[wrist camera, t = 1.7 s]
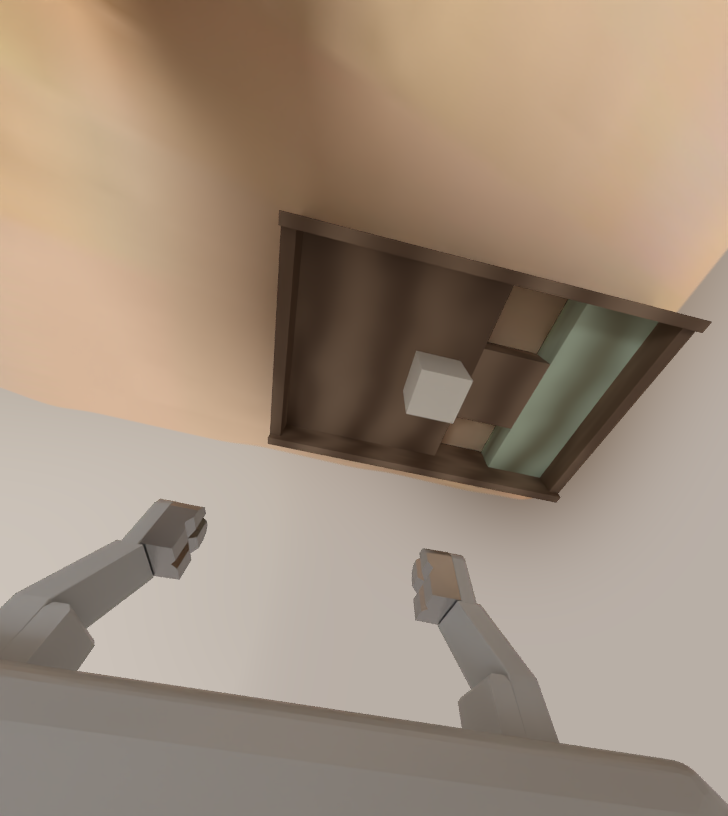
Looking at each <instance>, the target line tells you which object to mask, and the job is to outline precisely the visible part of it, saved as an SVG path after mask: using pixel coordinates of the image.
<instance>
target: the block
mask: <svg viewBox="0 0 728 816" xmlns="http://www.w3.org/2000/svg"><path fill="white" fill-rule="evenodd" d="M472 382H473V380H472V378H471V377H470V375H469V374H468V372H467V370H466V369H465V367H464V366H463V364H462V363H461V361H458V360H454V359H450V358H446V357H441V356H437V355H433V354H428V353H424V352H420V351H416V353H415V356H414V359H413V362H412V365H411V368H410V371H409V374H408V377H407V380H406V383H405V386H404V389H403V395H404V402H405V410H406V414H410V415H415V416H420V417H424V418H429V419H433V420H438V421H442V422H447V423H452V424H453V423H454V421H455V419H456V416H457V414H458V412H459V410H460V408H461V406H462V404H463V402H464V399H465V397H466V395H467V393H468V391H469V389H470V387H471V385H472Z"/></svg>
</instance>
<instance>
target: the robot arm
mask: <svg viewBox="0 0 728 816" xmlns="http://www.w3.org/2000/svg"><path fill="white" fill-rule="evenodd" d="M205 514H206V512H205V507H200V506H194V505H189V504H184V503H179V502H175V501H170V500H164V499H159V500H158V501H156V502H155V503H154V504H153V505H152V506H151V507H150V508H149V510H148V511H147V512H146V513H145V514H144V515H143V516H142V518H141V519H140V520H139V521H138V522H137V523H136V524H135V525H134V527H133V528H132V529H131V530H130V531H129V532H128V533H127V535H126V536H125V537H124V538H123V539H122V540H115V541H114V542H112V543H110V544H108V545H106V546H104V547H102V548H100V549H99V550H97V551H95V552H93V553H91V554H89V555H87V556H85V557H83V558H81V559H80V560H78V561H76V562H74V563H72V564H70V565H68V566H66V567H64V568H63V569H61V570H59V571H57V572H55V573H53V574H51V575H49V576H47V577H46V578H44V579H42V580H40V581H38V582H36V583H34V584H32V585H30V586H29V587H27V588H25V589H23V590H21V591H19V592H18V593H15V595H13V596H12V597H11V598H10V599H9V600H8V601H7V602H6V603H5V604H4V605H3V606H2V607H1V608H0V816H728V804H727V803H726V802H725V801H724V800H723V799H722V798H721V797H720V796H719V795H718V794H717V793H716V792H715V791H714V790H713V789H712V788H711V787H710V786H709V785H708V784H707V783H706V782H705V781H704V780H703V779H702V778H701V777H700V776H699V775H698V774H697V773H696V772H695V771H694V770H692V769H691V768H690V767H688V766H686V765H684V764H683V763H680V762H677V761H674V760H668V759H663V758H656V757H650V756H643V755H636V754H629V753H623V752H616V751H609V750H602V749H596V748H589V747H582V746H576V745H569V744H563V743H559V741H558V738H557V735H556V732H555V730H554V727H553V724H552V721H551V718H550V715H549V713H548V710H547V707H546V704H545V701H544V698H543V695H542V693H541V690H540V687H539V684H538V681H537V679H536V677H535V676H534V675H533V674H532V672H531V671H530V670H529V668H528V667H527V666H526V664H525V663H524V662H523V660H522V659H521V658H520V656H519V655H518V654H517V652H516V651H515V650H514V648H513V647H512V646H511V645H510V643H509V642H508V640H507V639H506V638H505V636H504V635H503V634H502V632H501V631H500V630H499V628H498V627H497V626H496V625H495V623H494V622H493V621H492V619H491V618H490V617H489V615H488V614H487V613H486V611H485V610H484V609H483V607H482V606H481V605H480V604H477V603H476V600H475V596H474V592H473V588H472V584H471V581H470V577H469V573H468V569H467V566H466V562H465V559H464V557H463V556H461V555H457V554H451V553H448V552H442V551H436V550H430V549H422V550H421V552H420V558H419V559H417V560H416V561H415V563H414V565H413V570H412V586H413V588H414V590H415V591H416V592H417V595H416V596H415V598H414V610H415V620H417V621H422V622H427V623H432V624H437V625H438V627H439V629H440V631H441V633H442V635H443V637H444V638H445V641H446V642H447V644H448V646H449V648H450V650H451V652H452V654H453V656H454V658H455V660H456V661H457V663H458V665H459V667H460V669H461V671H462V673H463V675H464V677H465V679H466V680H467V682H468V684H469V686H470V688H471V690H470V691H469V692H467V693H466V694H465V695H464V696H462V697H461V698H460V700H459V701H458V706H459V712H460V718H461V725H462V728H455V727H449V726H442V725H435V724H428V723H422V722H415V721H409V720H402V719H394V718H388V717H381V716H375V715H369V714H361V713H355V712H348V711H341V710H335V709H328V708H321V707H315V706H307V705H301V704H295V703H287V702H282V701H274V700H268V699H261V698H254V697H247V696H241V695H235V694H228V693H221V692H214V691H208V690H201V689H195V688H187V687H181V686H174V685H168V684H161V683H154V682H147V681H141V680H134V679H128V678H121V677H114V676H107V675H101V674H94V673H88V672H81V671H77V670H78V669H79V667H80V666H81V664H82V663H83V662H84V660H85V659H86V657H87V656H88V654H89V653H90V652H91V650H92V649H93V647H94V640H93V638H92V637H91V635H90V634H89V632H88V631H87V629H86V628H88V627H89V626H90V625H92V624H93V623H94V622H95V621H97V620H98V619H99V618H101V617H102V616H103V615H105V614H106V613H107V612H109V611H110V610H111V609H112V608H114V607H115V606H116V605H118V604H119V603H120V602H122V601H123V600H124V599H126V598H127V597H128V596H130V595H131V594H132V593H134V592H135V591H136V590H138V589H139V588H140V587H142V586H143V585H144V584H145V583H147V582H148V581H149V580H151V579H152V578H153V576H159V577H166V578H173V579H180V578H181V576H182V574H183V573H184V571H185V569H186V568H187V566H188V564H189V563H190V561H191V555H190V553H191V552H193V551H194V550H196V549H198V548H199V546H200V544H201V543H202V541H203V539H204V536H205V534H206V529H207V521H206V520H205V519H204V518H203V517H204V516H205Z"/></svg>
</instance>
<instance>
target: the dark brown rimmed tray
mask: <svg viewBox="0 0 728 816" xmlns="http://www.w3.org/2000/svg"><path fill="white" fill-rule="evenodd" d="M279 225H280V226H281V236H280V254H279V273H278V292H277V311H276V330H275V349H274V368H273V387H272V406H271V424H270V435H269V437H268V444H272V445H277V446H282V447H287V448H291V449H296V450H301V451H306V452H311V453H316V454H321V455H326V456H331V457H336V458H340V459H345V460H350V461H355V462H360V463H365V464H370V465H375V466H380V467H385V468H389V469H394V470H399V471H404V472H409V473H414V474H419V475H424V476H429V477H434V478H438V479H443V480H448V481H453V482H458V483H463V484H468V485H473V486H478V487H483V488H487V489H492V490H497V491H502V492H507V493H512V494H517V495H522V496H527V497H532V498H536V499H542V500H546V501H551V502H557V501H558V500H559V499H560V496H559V494H558V493H559V492H560V490H561V489H562V488H563V487H564V486H565V485H566V483H567V482H568V481H569V480H570V479H571V478H572V476H573V475H574V474H575V473H576V472H577V470H578V469H579V468H580V467H581V466H582V464H583V463H584V462H585V461H586V460H587V458H588V457H589V456H590V455H591V454H592V453H593V452H594V450H595V449H596V448H597V447H598V446H599V444H600V443H601V442H602V441H603V440H604V438H605V437H606V436H607V435H608V434H609V433H610V432H611V430H612V429H613V428H614V427H615V426H616V424H617V423H618V422H619V421H620V420H621V419H622V417H623V416H624V415H625V414H626V413H627V411H628V410H629V409H630V408H631V407H632V406H633V404H634V403H635V402H636V401H637V400H638V398H639V397H640V396H641V395H642V394H643V392H644V391H645V390H646V389H647V388H648V387H649V385H650V384H651V383H652V382H653V381H654V380H655V378H656V377H657V376H658V375H659V374H660V372H661V371H662V370H663V369H664V368H665V367H666V365H667V364H668V363H669V362H670V361H671V360H672V358H673V357H674V356H675V355H676V354H677V352H678V351H679V350H680V349H681V348H682V347H683V345H684V344H685V343H686V342H687V341H688V340H689V338H690V337H691V336H692V335H693V334H694V332H695V331H696V332H700V333H703V332H704V331H705V329H706V328H707V327H708V326H709V325H710V324H711V321H707V320H703V319H699V318H695V317H691V316H687V315H683V314H679V313H676V312H672V311H668V310H664V309H660V308H656V307H653V306H649V305H645V304H641V303H637V302H633V301H629V300H625V299H622V298H618V297H614V296H610V295H606V294H602V293H598V292H594V291H591V290H587V289H583V288H579V287H575V286H571V285H567V284H563V283H560V282H556V281H552V280H548V279H544V278H540V277H536V276H532V275H529V274H525V273H521V272H517V271H513V270H509V269H505V268H501V267H498V266H494V265H490V264H486V263H482V262H478V261H474V260H470V259H467V258H463V257H459V256H455V255H451V254H447V253H443V252H439V251H436V250H432V249H428V248H424V247H420V246H416V245H412V244H408V243H405V242H401V241H397V240H393V239H389V238H385V237H381V236H377V235H374V234H370V233H366V232H362V231H358V230H354V229H350V228H346V227H343V226H339V225H335V224H331V223H327V222H323V221H319V220H315V219H312V218H308V217H304V216H300V215H296V214H292V213H288V212H284V211H281V210H279ZM514 285H516V286H519V287H523V288H527V289H531V290H535V291H539V292H543V293H547V294H551V295H555V296H559V297H563V298H567V299H568V301H567V302H566V304H565V306H564V308H563V309H562V311H561V313H560V315H559V316H558V318H557V320H556V322H555V323H554V325H553V327H552V329H551V330H550V332H549V334H548V336H547V337H546V339H545V341H544V343H543V344H542V346H541V348H540V350H539V351H538V353H537V354H534V353H530V352H526V351H522V350H517V349H513V348H509V347H505V346H501V345H497V344H492V343H488V340H489V338H490V335H491V333H492V331H493V329H494V327H495V325H496V323H497V320H498V318H499V316H500V314H501V312H502V310H503V307H504V305H505V303H506V301H507V299H508V297H509V295H510V292H511V290H512V288H513V286H514ZM416 351H420V352H424V353H428V354H433V355H437V356H441V357H446V358H450V359H454V360H458V361H461V363H462V364H463V366H464V367H465V369H466V370H467V372H468V374H469V375H470V377H471V378H472V380H473V382H472V385H471V387H470V389H469V391H468V393H467V395H466V397H465V399H464V402H463V404H462V406H461V408H460V410H459V412H458V414H457V416H456V417H459V418H464V419H468V420H473V421H478V422H482V423H487V424H491V425H496V427H495V428H494V430H493V432H492V433H491V435H490V437H489V439H488V440H487V442H486V444H485V446H484V447H483V449H482V451H481V452H480V451H475V450H470V449H465V448H461V447H456V446H451V445H447V444H442V443H441V441H442V439H443V437H444V435H445V433H446V430H447V428H448V426H449V424H450V423H447V422H442V421H438V420H433V419H429V418H424V417H420V416H415V415H410V414H406V410H405V402H404V395H403V389H404V386H405V383H406V380H407V377H408V374H409V371H410V368H411V365H412V362H413V359H414V356H415V353H416Z"/></svg>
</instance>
